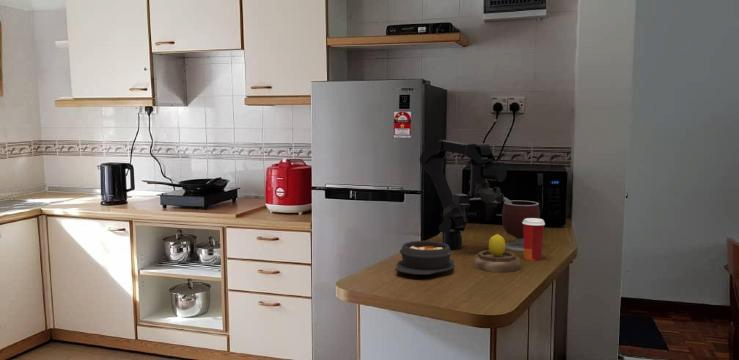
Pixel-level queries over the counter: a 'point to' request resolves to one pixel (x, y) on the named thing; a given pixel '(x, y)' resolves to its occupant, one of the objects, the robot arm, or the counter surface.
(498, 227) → the counter surface
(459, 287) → the counter surface
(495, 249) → the lemon
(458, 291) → the counter surface
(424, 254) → the casserole
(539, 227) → the paper cup
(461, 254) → the counter surface
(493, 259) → the stand
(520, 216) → the mate gourd
